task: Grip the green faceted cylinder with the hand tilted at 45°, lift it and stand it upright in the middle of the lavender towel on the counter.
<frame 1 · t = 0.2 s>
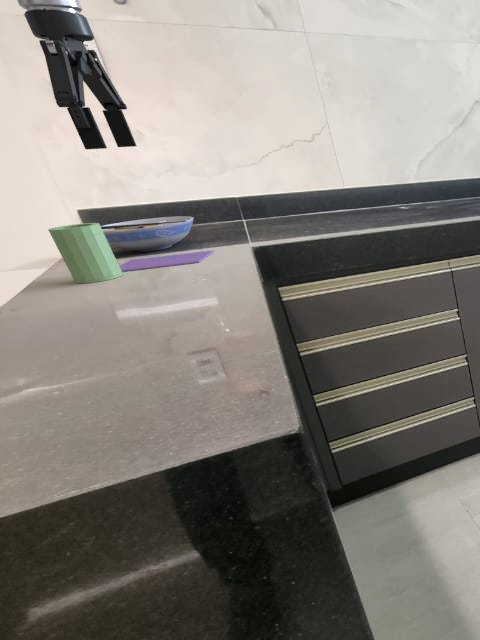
hand: (113, 148, 98), 28 cm above the counter, tool pointing down, fingers open, 13 cm apart
towel: (164, 261, 136), on the counter
green faceted cylinder: (99, 278, 123), on the counter
ramen bowl: (155, 249, 153), on the counter
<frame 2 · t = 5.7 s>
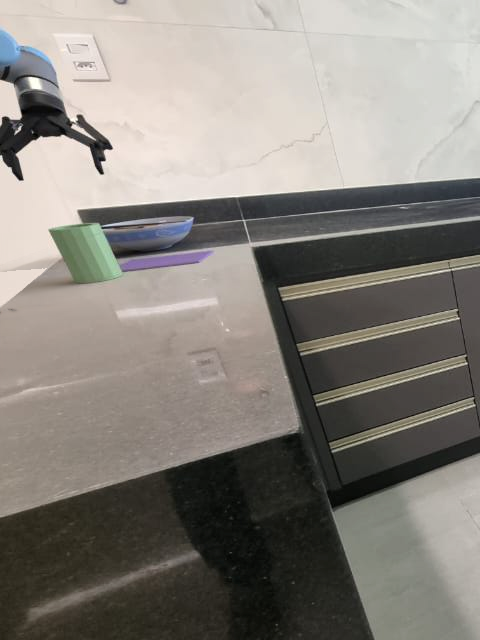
hand: (60, 173, 121), 23 cm above the counter, tool tilted 45°, fingers open, 13 cm apart
nothing on the counter moved.
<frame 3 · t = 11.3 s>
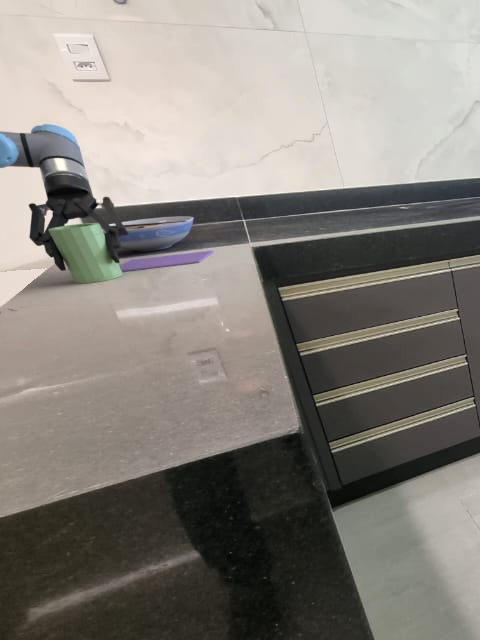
hand: (88, 263, 119), 4 cm above the counter, tool tilted 45°, fingers closed on green faceted cylinder, 8 cm apart
green faceted cylinder: (99, 278, 123), on the counter, touching gripper
everything else where it was.
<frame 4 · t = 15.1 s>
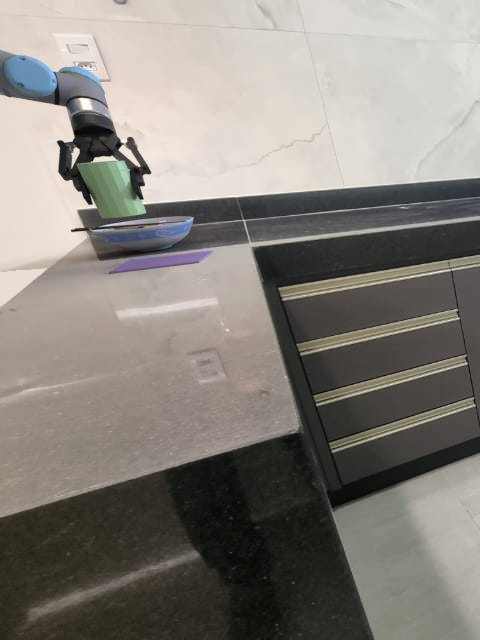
hand: (114, 198, 123), 17 cm above the counter, tool tilted 45°, fingers closed on green faceted cylinder, 8 cm apart
green faceted cylinder: (124, 215, 127), point 13 cm above the counter, touching gripper
everything else where it was.
when the fingers open (5 cm above the counter, at t = 19.3 s): green faceted cylinder stays where it is, resting on towel.
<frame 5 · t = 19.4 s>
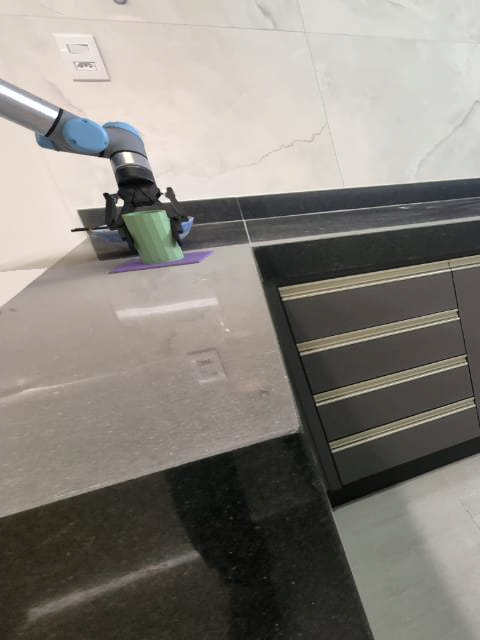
hand: (156, 246, 132), 5 cm above the counter, tool tilted 45°, fingers open, 8 cm apart
green faceted cylinder: (164, 260, 136), resting on towel
everything else where it was.
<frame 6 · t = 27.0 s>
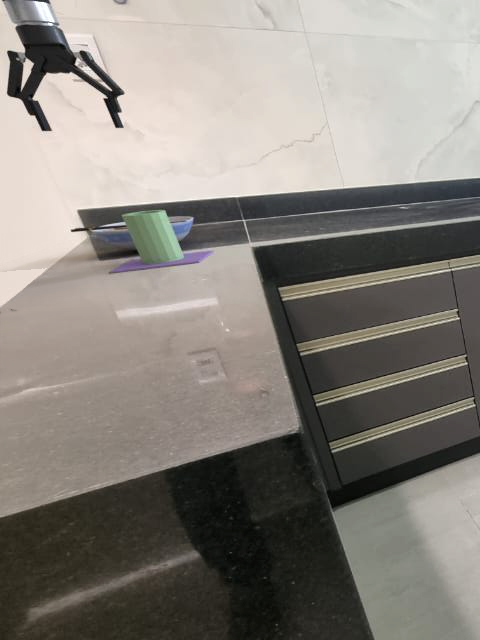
hand: (84, 129, 127), 32 cm above the counter, tool pointing down, fingers open, 13 cm apart
nothing on the counter moved.
at the end: green faceted cylinder inside the target area on the towel (0.0 cm from its centre), point 0.4 cm above the towel's base; green faceted cylinder tilted 0°; the gripper is holding nothing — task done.
